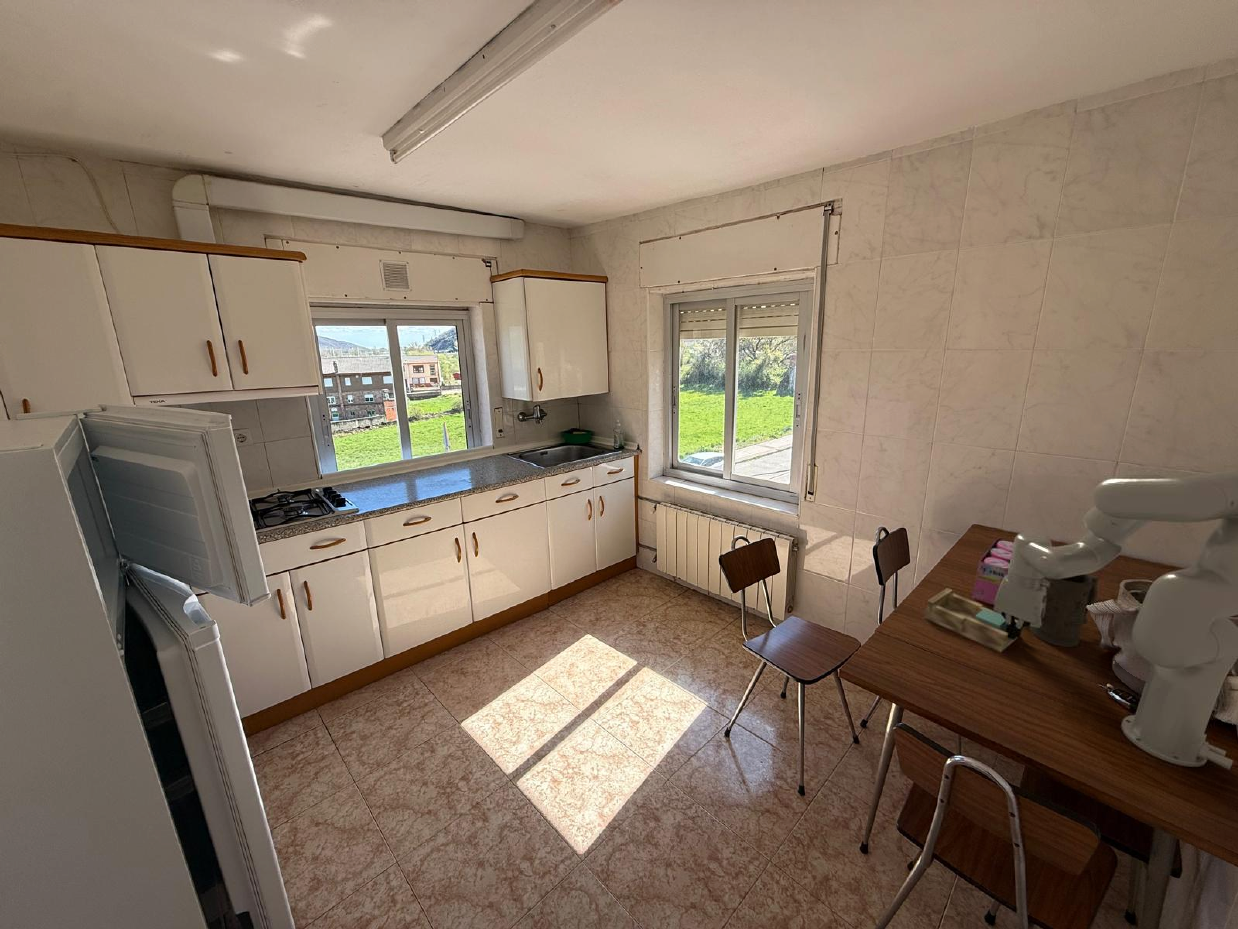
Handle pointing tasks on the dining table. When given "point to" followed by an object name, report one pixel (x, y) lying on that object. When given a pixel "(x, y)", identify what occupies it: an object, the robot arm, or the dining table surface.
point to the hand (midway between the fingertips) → (1012, 636)
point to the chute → (965, 619)
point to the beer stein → (1066, 609)
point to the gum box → (992, 571)
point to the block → (992, 619)
